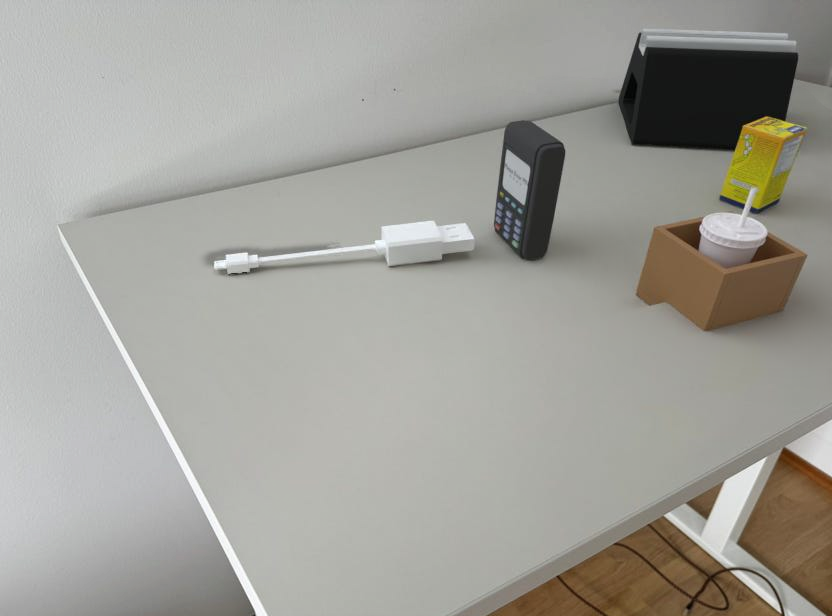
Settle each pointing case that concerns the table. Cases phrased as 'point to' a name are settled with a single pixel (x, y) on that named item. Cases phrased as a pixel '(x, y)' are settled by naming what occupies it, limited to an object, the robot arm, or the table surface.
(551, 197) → the card reader
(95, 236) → the table surface
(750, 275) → the open box
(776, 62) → the device stand
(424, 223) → the charging cable
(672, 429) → the table surface
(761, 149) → the supplement box
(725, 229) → the smoothie
